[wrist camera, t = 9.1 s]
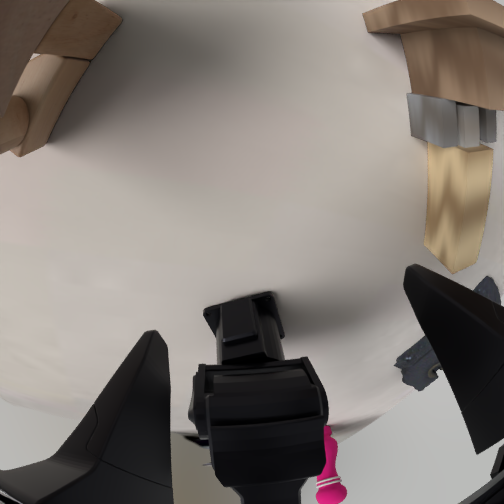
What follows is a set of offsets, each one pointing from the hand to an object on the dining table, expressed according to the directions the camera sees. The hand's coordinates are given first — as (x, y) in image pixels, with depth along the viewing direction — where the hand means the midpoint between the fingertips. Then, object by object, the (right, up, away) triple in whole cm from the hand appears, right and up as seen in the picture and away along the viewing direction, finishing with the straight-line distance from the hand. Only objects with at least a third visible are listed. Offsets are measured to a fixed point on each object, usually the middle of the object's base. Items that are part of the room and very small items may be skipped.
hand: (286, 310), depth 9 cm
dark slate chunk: (+32, -11, +27) cm, 43 cm away
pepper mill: (+12, -36, +39) cm, 54 cm away
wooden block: (-14, +14, +4) cm, 21 cm away
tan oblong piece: (+16, +9, +11) cm, 21 cm away
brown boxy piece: (+13, +17, +5) cm, 22 cm away
